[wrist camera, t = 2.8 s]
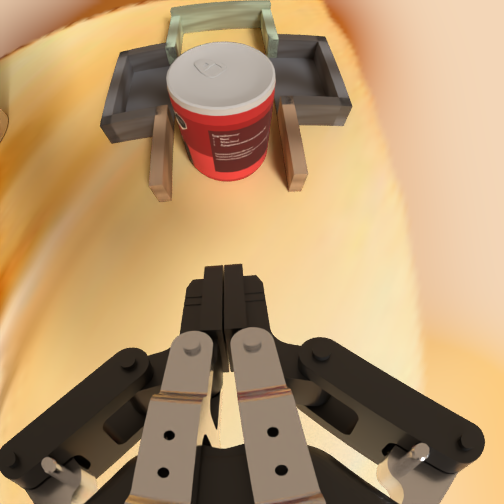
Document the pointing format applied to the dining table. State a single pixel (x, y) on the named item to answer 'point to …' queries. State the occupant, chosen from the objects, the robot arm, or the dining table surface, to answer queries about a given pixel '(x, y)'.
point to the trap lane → (286, 93)
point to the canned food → (223, 107)
